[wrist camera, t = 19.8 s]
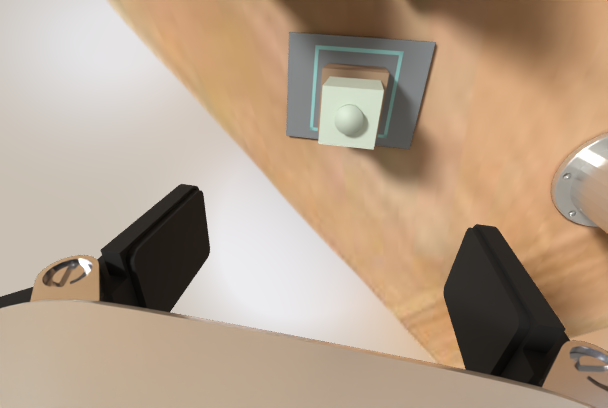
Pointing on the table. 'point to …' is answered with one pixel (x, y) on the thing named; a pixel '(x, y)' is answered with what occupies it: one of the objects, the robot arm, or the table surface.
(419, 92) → the slate mat
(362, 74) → the walnut block
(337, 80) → the sage block
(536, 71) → the table surface
